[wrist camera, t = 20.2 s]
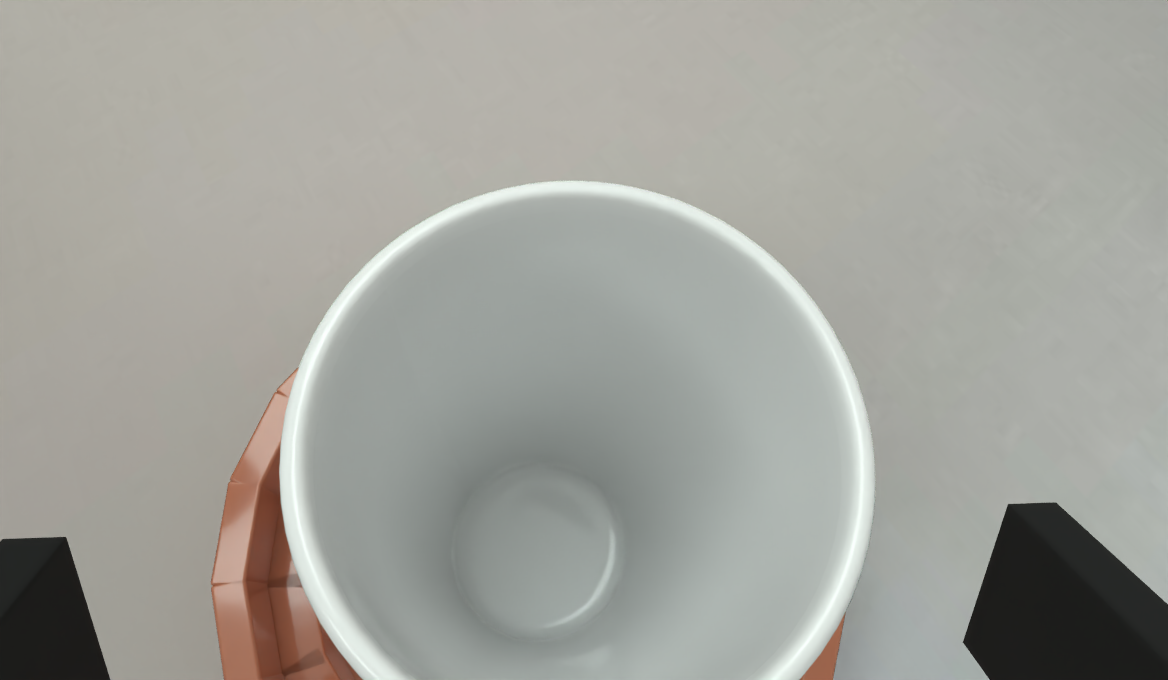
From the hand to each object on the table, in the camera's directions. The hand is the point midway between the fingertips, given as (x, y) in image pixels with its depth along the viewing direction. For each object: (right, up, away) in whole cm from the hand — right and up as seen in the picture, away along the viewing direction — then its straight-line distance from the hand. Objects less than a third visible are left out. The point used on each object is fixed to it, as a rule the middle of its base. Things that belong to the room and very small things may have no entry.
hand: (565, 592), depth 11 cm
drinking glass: (-1, -3, +12) cm, 12 cm away
